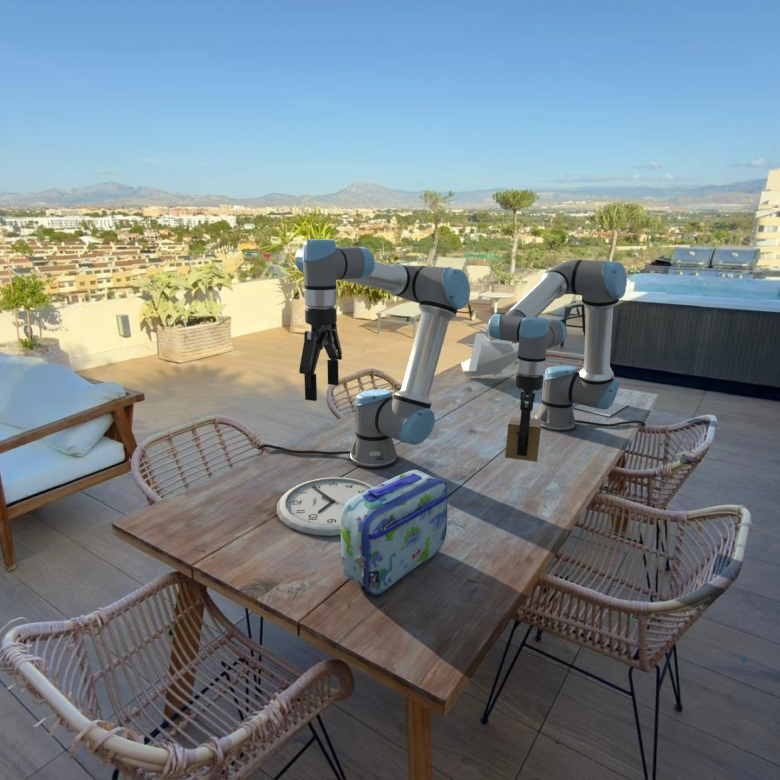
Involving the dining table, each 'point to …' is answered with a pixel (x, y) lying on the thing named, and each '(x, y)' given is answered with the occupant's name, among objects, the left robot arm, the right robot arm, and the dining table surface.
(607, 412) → the invitation card
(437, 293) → the left robot arm
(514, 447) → the wooden block
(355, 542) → the lunch box
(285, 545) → the dining table surface
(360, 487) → the wall clock
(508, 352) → the white plastic object
